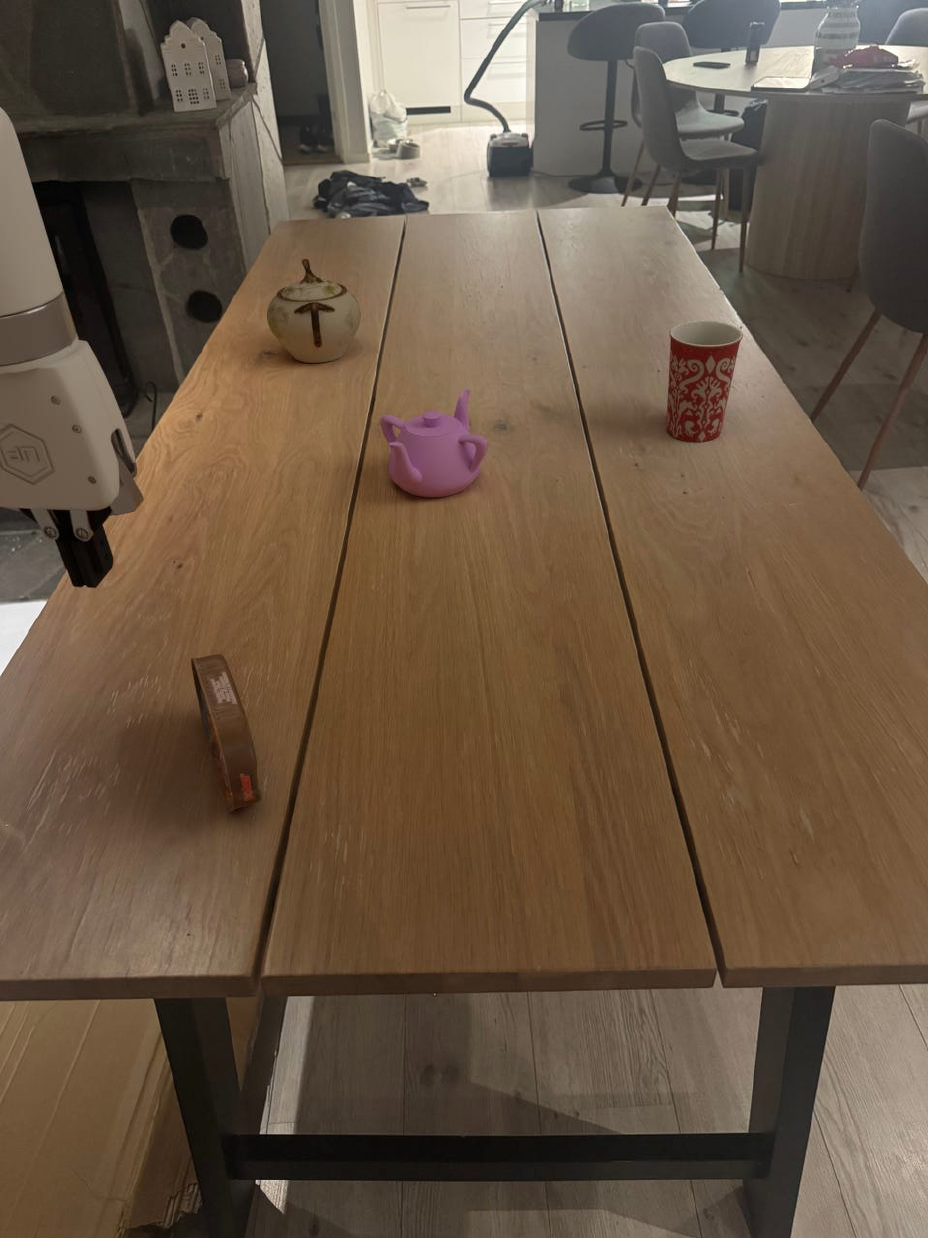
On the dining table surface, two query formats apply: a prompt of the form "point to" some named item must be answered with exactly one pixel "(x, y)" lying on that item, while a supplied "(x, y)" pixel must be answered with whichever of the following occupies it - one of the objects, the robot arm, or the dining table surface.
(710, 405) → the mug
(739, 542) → the dining table surface
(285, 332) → the sugar bowl
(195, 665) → the tin
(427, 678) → the dining table surface
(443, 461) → the teapot
